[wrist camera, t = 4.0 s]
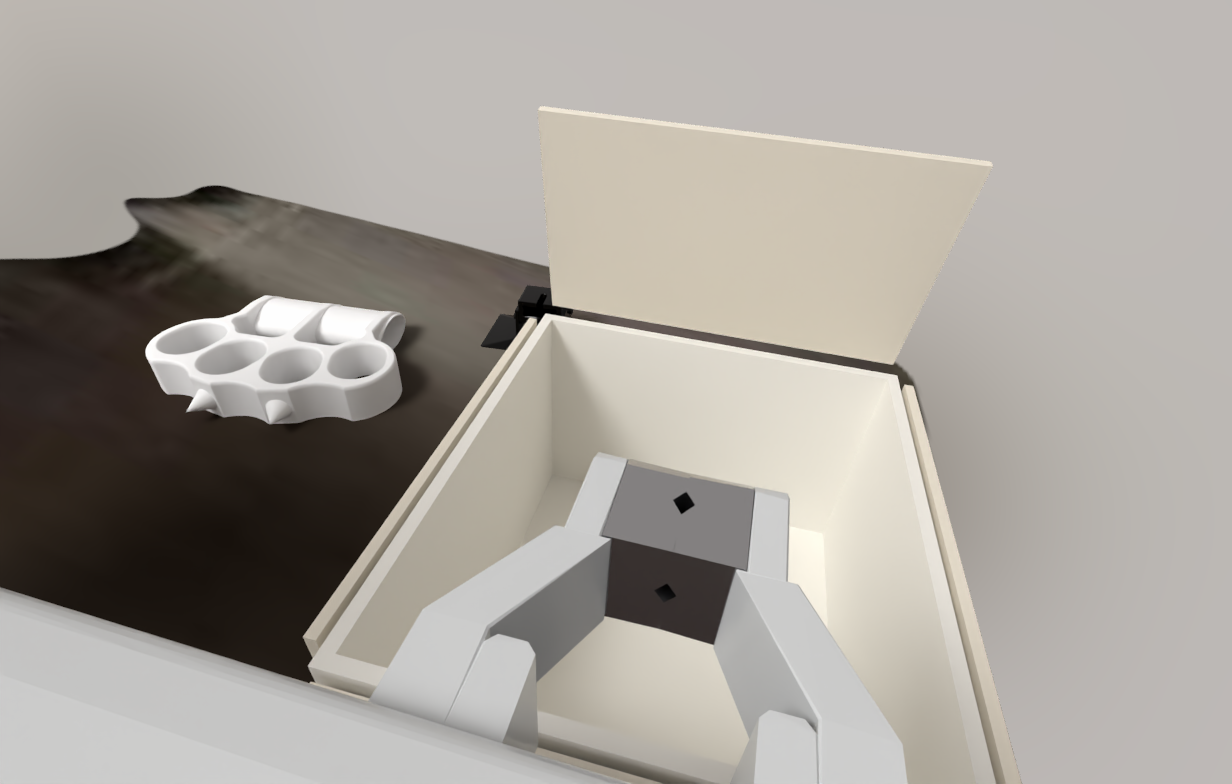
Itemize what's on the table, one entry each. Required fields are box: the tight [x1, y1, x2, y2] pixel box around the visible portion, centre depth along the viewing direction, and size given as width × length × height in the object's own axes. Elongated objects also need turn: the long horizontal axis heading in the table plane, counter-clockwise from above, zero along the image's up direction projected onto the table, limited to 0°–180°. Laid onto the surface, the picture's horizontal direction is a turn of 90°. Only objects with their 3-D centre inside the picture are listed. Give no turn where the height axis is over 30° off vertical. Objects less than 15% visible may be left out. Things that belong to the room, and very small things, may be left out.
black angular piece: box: [481, 285, 573, 350], centre depth 51 cm, size 12×7×5 cm, turn 82°
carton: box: [303, 314, 1022, 784], centre depth 26 cm, size 19×21×12 cm
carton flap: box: [538, 106, 993, 365], centre depth 27 cm, size 17×10×1 cm
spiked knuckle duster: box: [146, 295, 405, 425], centre depth 45 cm, size 3×18×15 cm
